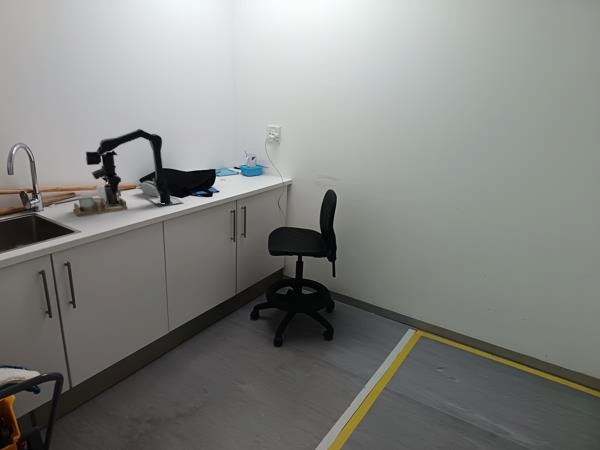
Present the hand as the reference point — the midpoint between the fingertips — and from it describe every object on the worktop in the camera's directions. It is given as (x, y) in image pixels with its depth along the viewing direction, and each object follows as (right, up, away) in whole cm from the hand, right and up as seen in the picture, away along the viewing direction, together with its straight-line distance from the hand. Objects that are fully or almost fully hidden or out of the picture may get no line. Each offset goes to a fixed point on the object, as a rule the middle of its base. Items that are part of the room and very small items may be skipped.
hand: (112, 192), depth 220 cm
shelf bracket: (-8, -5, +16) cm, 19 cm away
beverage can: (0, -7, +2) cm, 7 cm away
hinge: (+10, +1, +34) cm, 35 cm away
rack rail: (-5, -10, -1) cm, 11 cm away
